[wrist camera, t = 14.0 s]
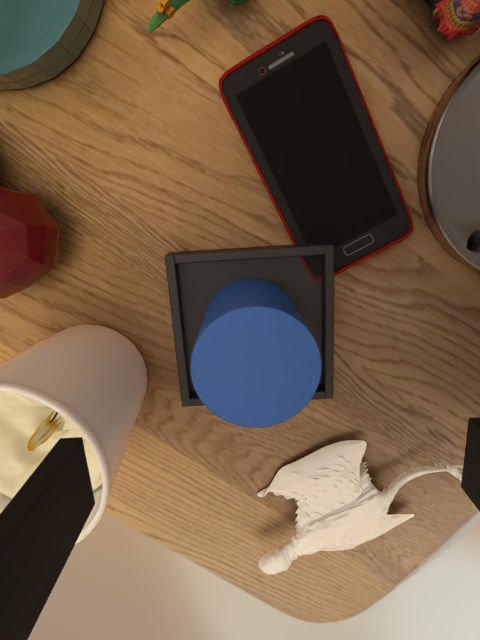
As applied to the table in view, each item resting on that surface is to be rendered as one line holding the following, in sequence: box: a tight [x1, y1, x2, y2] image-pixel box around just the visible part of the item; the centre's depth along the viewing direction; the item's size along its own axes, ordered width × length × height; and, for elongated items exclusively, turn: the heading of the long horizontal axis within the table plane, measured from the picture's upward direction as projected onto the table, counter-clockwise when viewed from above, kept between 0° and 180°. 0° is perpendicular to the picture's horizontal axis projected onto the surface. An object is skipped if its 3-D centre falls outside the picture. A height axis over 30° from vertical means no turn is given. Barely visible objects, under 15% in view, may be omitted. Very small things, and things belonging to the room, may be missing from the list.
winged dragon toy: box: [257, 440, 463, 575], centre depth 31 cm, size 18×10×4 cm, turn 124°
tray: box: [165, 243, 334, 407], centre depth 28 cm, size 11×11×2 cm
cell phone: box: [219, 15, 413, 281], centre depth 26 cm, size 8×15×1 cm, turn 28°
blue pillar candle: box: [190, 278, 322, 427], centre depth 25 cm, size 7×7×8 cm
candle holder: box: [0, 324, 148, 545], centre depth 24 cm, size 10×10×12 cm
